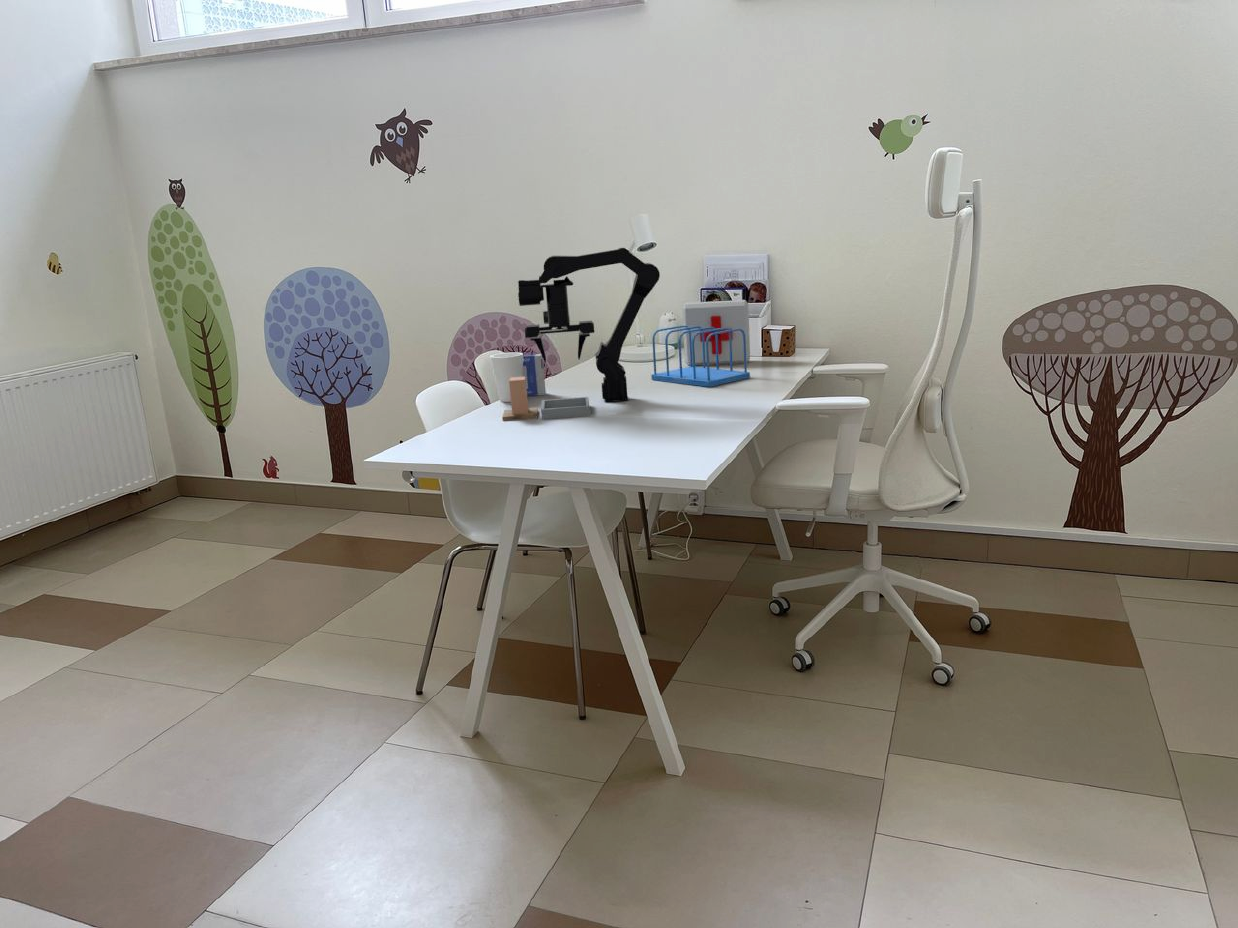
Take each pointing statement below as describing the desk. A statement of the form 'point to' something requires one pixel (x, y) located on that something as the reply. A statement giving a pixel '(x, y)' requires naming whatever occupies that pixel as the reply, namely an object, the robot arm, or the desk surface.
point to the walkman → (534, 374)
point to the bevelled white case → (717, 317)
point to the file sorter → (703, 374)
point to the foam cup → (506, 371)
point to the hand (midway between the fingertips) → (562, 360)
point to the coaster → (531, 414)
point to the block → (518, 395)
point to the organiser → (565, 408)
